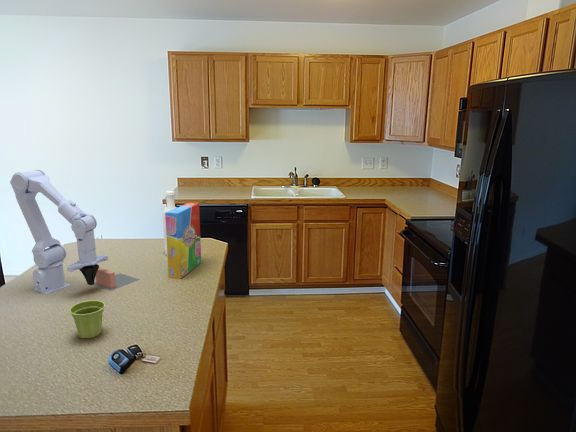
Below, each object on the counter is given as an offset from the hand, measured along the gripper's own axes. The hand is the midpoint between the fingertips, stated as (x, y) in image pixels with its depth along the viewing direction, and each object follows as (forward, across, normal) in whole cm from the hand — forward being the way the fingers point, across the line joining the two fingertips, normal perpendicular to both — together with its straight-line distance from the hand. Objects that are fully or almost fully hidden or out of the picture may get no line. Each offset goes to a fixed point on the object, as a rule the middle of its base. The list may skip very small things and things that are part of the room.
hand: (90, 284), depth 148 cm
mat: (+3, +10, 0) cm, 11 cm away
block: (+3, +6, 0) cm, 7 cm away
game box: (+3, +35, -13) cm, 37 cm away
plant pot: (+3, -18, -27) cm, 33 cm away
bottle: (+3, +47, +7) cm, 47 cm away
